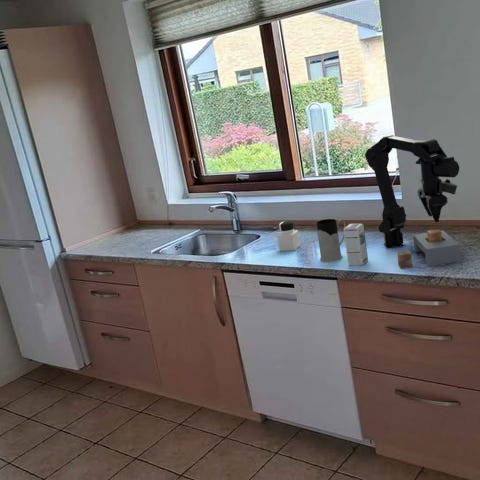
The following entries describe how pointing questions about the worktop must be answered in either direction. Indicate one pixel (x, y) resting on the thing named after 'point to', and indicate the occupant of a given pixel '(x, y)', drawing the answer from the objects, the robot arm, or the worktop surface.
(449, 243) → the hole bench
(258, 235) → the worktop surface
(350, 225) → the syrup box
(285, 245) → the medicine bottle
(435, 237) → the long pin
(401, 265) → the short pin
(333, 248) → the grey pitcher
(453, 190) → the robot arm
